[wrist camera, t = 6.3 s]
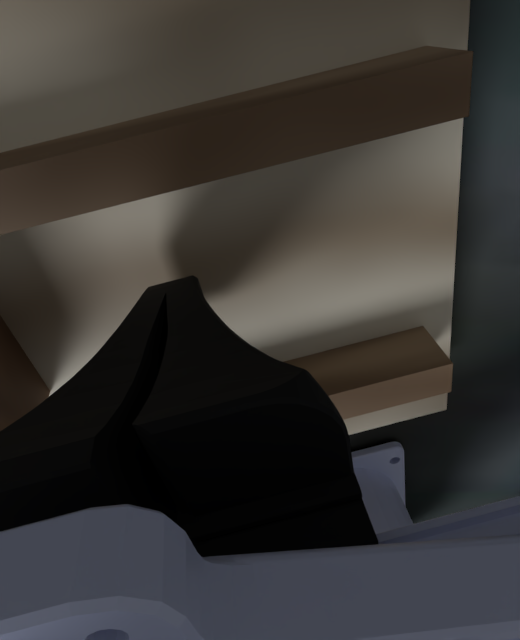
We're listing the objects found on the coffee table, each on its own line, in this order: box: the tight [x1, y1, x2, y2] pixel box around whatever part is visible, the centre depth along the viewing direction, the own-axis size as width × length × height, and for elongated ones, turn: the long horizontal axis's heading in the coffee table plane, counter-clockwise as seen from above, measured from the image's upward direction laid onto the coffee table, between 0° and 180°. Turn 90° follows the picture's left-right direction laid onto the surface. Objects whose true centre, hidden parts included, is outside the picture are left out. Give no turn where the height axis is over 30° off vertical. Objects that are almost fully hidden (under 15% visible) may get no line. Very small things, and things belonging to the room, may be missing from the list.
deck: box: [0, 0, 473, 435], centre depth 13 cm, size 16×26×4 cm, turn 101°
